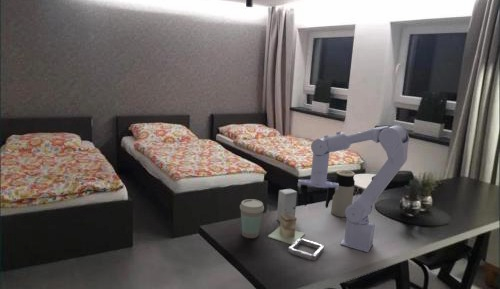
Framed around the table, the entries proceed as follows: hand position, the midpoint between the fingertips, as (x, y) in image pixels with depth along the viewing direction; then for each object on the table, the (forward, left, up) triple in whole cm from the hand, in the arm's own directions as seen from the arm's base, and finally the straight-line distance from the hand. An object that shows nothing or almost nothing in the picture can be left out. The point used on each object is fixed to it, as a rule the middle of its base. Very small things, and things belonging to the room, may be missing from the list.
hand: (315, 205), depth 140 cm
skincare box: (+12, -1, -10) cm, 15 cm away
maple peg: (+6, +11, -9) cm, 15 cm away
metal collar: (-4, +17, -9) cm, 20 cm away
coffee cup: (+17, +18, -10) cm, 27 cm away
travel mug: (-4, -21, -10) cm, 23 cm away
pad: (+6, +11, -9) cm, 16 cm away
